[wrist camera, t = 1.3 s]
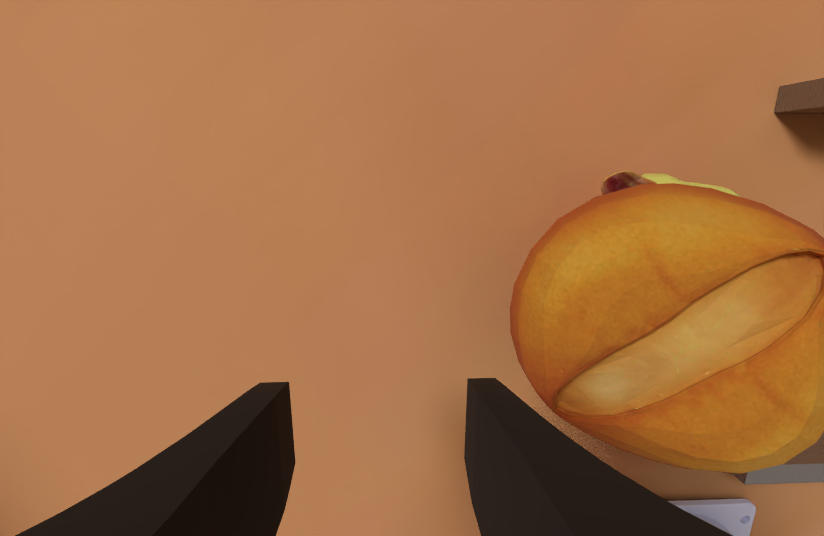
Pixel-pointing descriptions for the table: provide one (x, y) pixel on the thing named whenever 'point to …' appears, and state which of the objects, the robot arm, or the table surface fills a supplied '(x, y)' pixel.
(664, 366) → the cheeseburger
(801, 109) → the rack
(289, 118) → the table surface
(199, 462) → the robot arm
